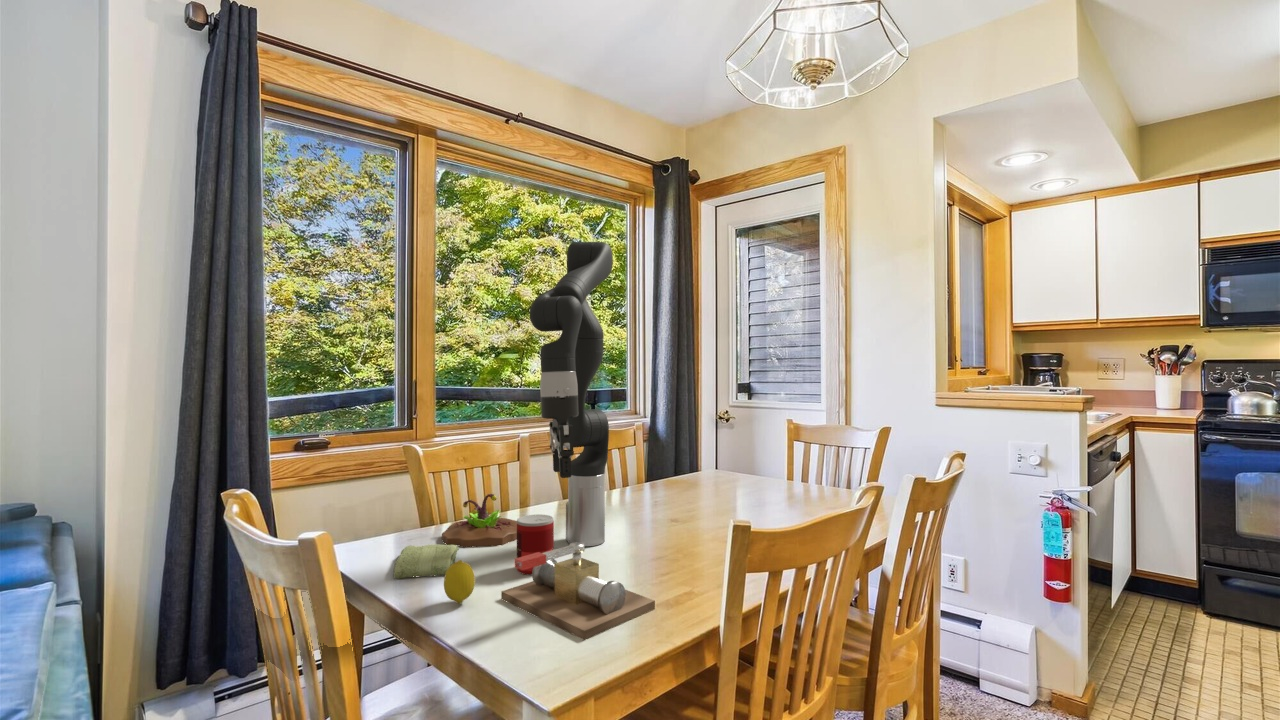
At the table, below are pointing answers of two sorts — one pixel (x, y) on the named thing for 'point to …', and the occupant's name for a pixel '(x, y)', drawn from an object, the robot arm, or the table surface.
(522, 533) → the canned food
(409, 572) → the washcloth
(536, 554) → the valve lever
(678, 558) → the table surface
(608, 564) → the table surface
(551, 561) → the valve body
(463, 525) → the plant
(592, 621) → the walnut board
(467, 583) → the lemon
